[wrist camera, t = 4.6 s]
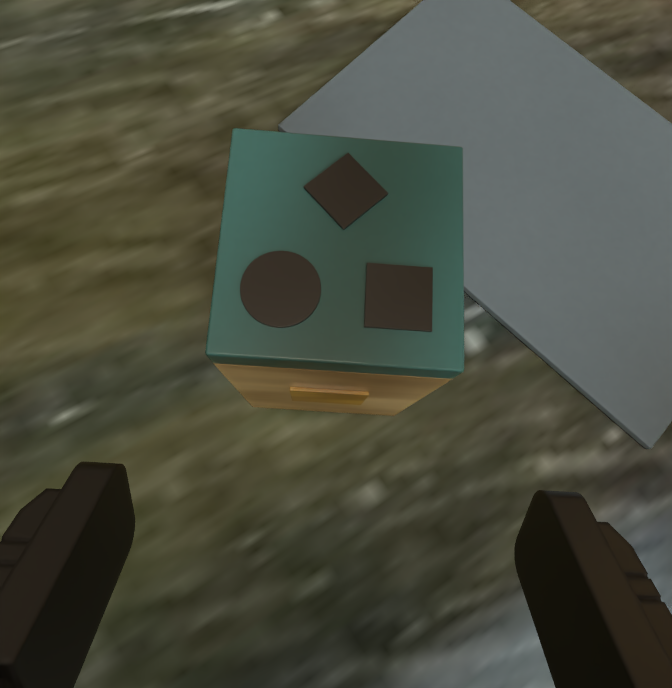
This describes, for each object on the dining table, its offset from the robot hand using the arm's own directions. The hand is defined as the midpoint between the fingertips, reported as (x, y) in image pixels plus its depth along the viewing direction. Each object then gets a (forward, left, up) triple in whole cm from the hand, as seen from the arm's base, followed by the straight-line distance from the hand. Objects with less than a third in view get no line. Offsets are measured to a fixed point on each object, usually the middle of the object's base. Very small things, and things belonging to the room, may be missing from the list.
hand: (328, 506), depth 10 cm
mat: (-2, +18, -11) cm, 21 cm away
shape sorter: (-4, +5, -11) cm, 12 cm away
